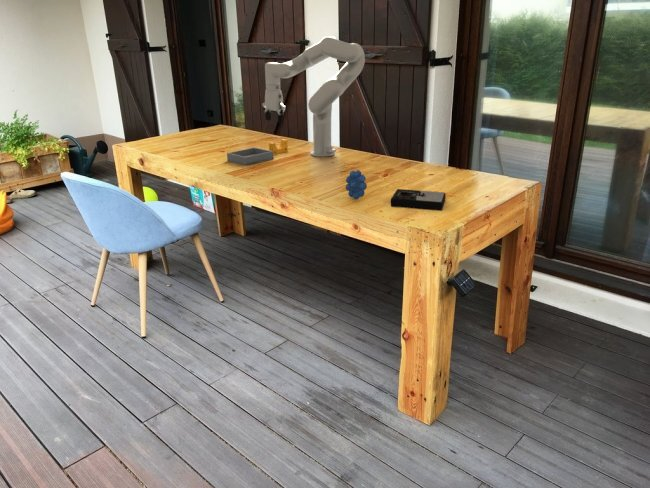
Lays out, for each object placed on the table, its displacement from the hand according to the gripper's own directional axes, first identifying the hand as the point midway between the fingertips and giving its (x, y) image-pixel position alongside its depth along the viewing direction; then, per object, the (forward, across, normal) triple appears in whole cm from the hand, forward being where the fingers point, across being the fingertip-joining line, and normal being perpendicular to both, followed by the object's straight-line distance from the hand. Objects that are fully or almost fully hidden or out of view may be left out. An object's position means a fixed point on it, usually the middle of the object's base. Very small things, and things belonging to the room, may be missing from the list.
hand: (274, 121), depth 280 cm
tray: (+17, -3, +20) cm, 26 cm away
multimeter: (+16, -108, +23) cm, 111 cm away
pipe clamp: (+17, -1, 0) cm, 17 cm away
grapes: (+16, -86, +34) cm, 94 cm away
